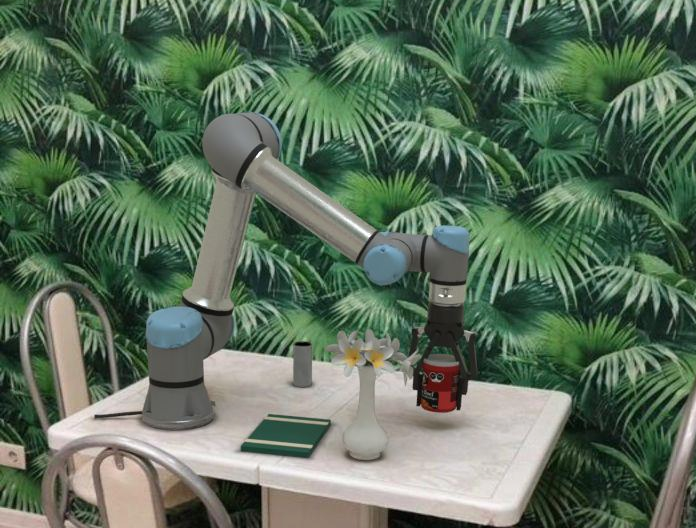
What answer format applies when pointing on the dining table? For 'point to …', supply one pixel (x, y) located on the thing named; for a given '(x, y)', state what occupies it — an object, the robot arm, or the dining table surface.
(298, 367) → the grey cylinder
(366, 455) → the flower vase
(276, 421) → the towel
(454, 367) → the canned food
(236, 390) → the dining table surface
